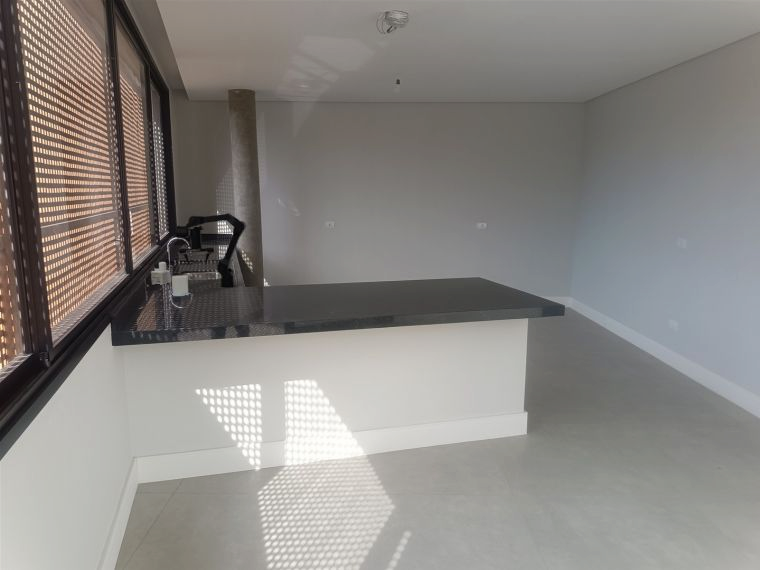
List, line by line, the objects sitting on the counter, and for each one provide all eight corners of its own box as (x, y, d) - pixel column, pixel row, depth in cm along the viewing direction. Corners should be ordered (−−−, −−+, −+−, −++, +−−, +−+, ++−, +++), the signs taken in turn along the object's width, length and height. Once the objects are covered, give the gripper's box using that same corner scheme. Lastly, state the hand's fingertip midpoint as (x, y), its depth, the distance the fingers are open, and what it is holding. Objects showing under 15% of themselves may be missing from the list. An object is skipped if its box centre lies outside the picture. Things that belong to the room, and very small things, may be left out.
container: (151, 284, 309) (149, 262, 307) (160, 282, 317) (159, 260, 314) (162, 285, 307) (161, 263, 305) (171, 282, 314) (169, 261, 312)
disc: (190, 291, 287) (190, 291, 287) (190, 295, 278) (190, 295, 278) (171, 293, 284) (171, 292, 284) (170, 296, 275) (170, 296, 275)
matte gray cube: (188, 291, 290) (187, 275, 288) (188, 293, 283) (187, 277, 281) (173, 291, 287) (172, 276, 286) (172, 294, 280) (171, 278, 279)
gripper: (212, 236, 309) (214, 262, 312) (178, 237, 303) (180, 263, 306) (213, 238, 298) (214, 265, 301) (178, 238, 293) (179, 266, 295)
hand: (197, 265), depth 301 cm, fingers open, 9 cm apart
